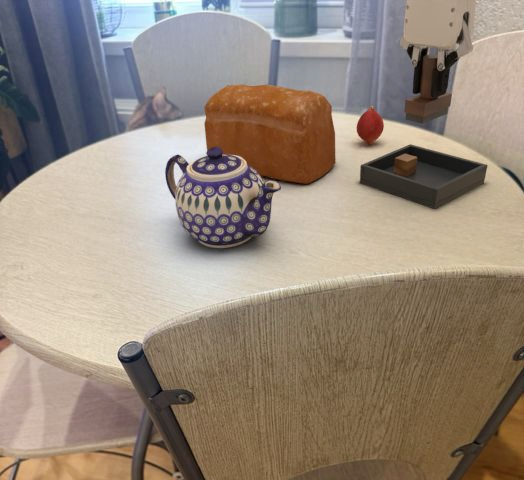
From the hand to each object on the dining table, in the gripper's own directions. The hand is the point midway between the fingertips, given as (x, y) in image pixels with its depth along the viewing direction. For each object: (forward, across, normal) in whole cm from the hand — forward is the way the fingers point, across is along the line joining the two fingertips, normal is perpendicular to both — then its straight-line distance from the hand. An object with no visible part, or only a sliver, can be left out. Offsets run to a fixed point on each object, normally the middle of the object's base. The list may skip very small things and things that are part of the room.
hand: (429, 92), depth 88 cm
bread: (+17, +31, +10) cm, 37 cm away
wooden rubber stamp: (+4, 0, 0) cm, 4 cm away
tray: (+17, +2, -3) cm, 17 cm away
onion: (+17, +24, -13) cm, 32 cm away
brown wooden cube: (+16, +6, -3) cm, 17 cm away
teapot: (+17, +12, +35) cm, 41 cm away
